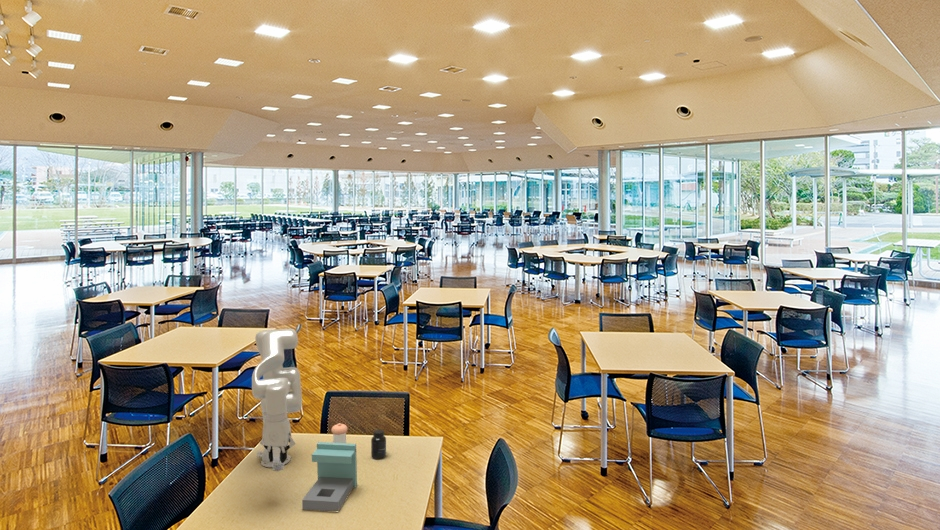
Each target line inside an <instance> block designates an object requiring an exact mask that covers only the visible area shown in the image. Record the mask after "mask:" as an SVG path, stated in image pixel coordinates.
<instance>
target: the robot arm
mask: <svg viewBox="0 0 940 530" xmlns="http://www.w3.org/2000/svg"><path fill="white" fill-rule="evenodd" d="M298 339H299V338H298V333H297V331H296V330H295V329H294V328H281V329H279V328H277V329H266V330H262V331H259V332H256V334H255V344H256V348H257V350H258V353H259V355H260V358H261V361H260V362H259V363H258V364H257V365H256V366H255V367H254V370H253V372H252V374H251V375H252V376H251V393H252V396H253V398H255V399H256V400H260V410H261V414H262V422H263V425H262V438H261V440H260V442H259V445H261V446H263V449H264V450H257V452H256V458H262V459H261V461H260V463H261V466H263V467H265V468H270V469H271V468H272V469H273V460H272V446H277V447H281V449H282V453H281V463H283V464H284V466H285V465H286V464H288V463H290V461H291V455H290V454H288V450H289V449H291V448H292V447H294V446H295V445H296V442H295V441H294V439H293V438H292V428H291V423H290V420H289V417H288V414H291V413H293V414H294V413H298V412H300V411H301V410H302V407H303V395H302V381H301V374H300V370H299V368H297V367H294V366H289V367H284V365H283V364H284V362H285V350H292V349H296V348H297V346H298V343H299V342H298V341H299V340H298ZM261 378H262V379H261Z"/></svg>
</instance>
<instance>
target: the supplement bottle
mask: <svg viewBox="0 0 940 530" xmlns="http://www.w3.org/2000/svg"><path fill="white" fill-rule="evenodd" d="M372 435H373V436H372V437H371V441H370V443H371V444H370V445H371V446H370V447H371V449H370V450H371V452H370V454H371V455H370V456H371V458H372V459H375V460H381V459H385V457H386V456H387V437H386V436H385V431H384V430H383V429H375V430H374V431H373V434H372Z"/></svg>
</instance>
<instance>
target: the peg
mask: <svg viewBox="0 0 940 530" xmlns="http://www.w3.org/2000/svg"><path fill="white" fill-rule="evenodd" d="M281 453H282V449H281V447H277V446H272V460H273V467H272V470H273V471H274V472H279V471H282V470H284V467H285V465H284V464H283V463H281Z"/></svg>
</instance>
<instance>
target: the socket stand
mask: <svg viewBox="0 0 940 530" xmlns="http://www.w3.org/2000/svg"><path fill="white" fill-rule="evenodd" d="M357 461H358V460H357V443H350V442H349V443H347V442H346V443H333V442H327V441H326V442H322V441H318V442H317V443H316V449H315V450H314V452H313V453H312V454H311V462H312V463H316V467H317V471H316V472H317V473H316V474H317V480H316V481H315V482H314V484H313V485H312V486H311V488H310V489H309V490H308V492H307V493H306V494H305V496H304V497H303V498H302V500H301V501H302V503H301V505H302V511H311V510H320V511H319V512H328V511H339V512H340V510H341V508H342V507H343V505H344V504H343V503H345V501H346V500H347V499H346V498H348V497H349V495H350V494H351V492H352V491H353V489H356V488H357V486H358V476H357V475H358V473H357V470H358V469H357V468H358V467H357ZM349 493H350V494H349ZM347 496H348V497H347ZM341 506H342V507H341ZM339 509H340V510H339Z"/></svg>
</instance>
